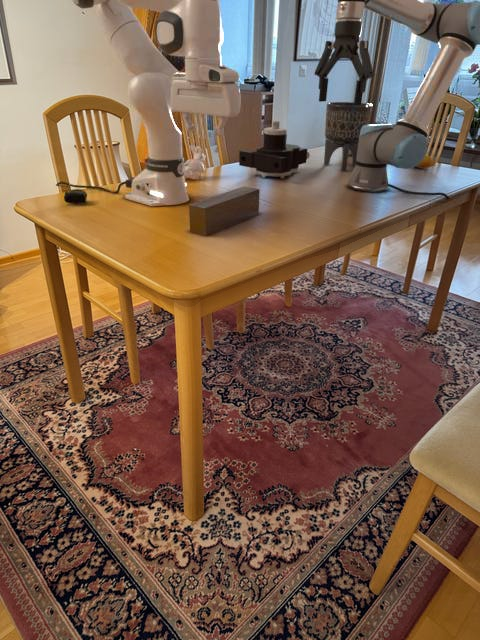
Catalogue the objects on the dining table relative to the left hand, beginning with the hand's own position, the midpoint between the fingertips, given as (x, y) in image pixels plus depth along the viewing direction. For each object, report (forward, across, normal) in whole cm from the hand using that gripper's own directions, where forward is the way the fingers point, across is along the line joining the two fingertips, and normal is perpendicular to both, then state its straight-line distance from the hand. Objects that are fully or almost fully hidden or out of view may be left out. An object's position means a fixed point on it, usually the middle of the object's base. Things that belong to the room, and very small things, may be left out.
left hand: (204, 133), depth 117 cm
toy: (+26, +22, +133) cm, 137 cm away
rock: (+26, -13, +142) cm, 145 cm away
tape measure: (+26, -51, -6) cm, 57 cm away
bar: (+26, 0, +10) cm, 28 cm away
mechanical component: (+26, -22, +78) cm, 85 cm away
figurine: (+26, -45, +46) cm, 69 cm away
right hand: (-6, +16, +47) cm, 50 cm away
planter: (+26, -7, +108) cm, 112 cm away
